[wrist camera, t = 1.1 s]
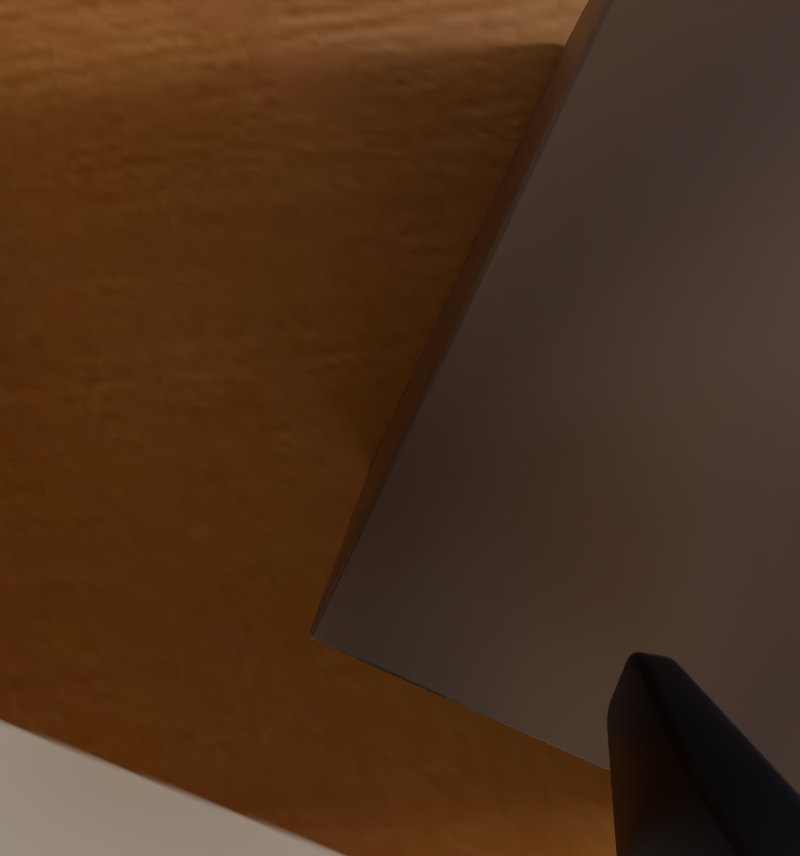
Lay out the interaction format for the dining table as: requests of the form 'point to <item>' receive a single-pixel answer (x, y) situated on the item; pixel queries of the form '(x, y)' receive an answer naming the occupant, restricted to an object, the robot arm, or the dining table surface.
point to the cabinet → (609, 401)
